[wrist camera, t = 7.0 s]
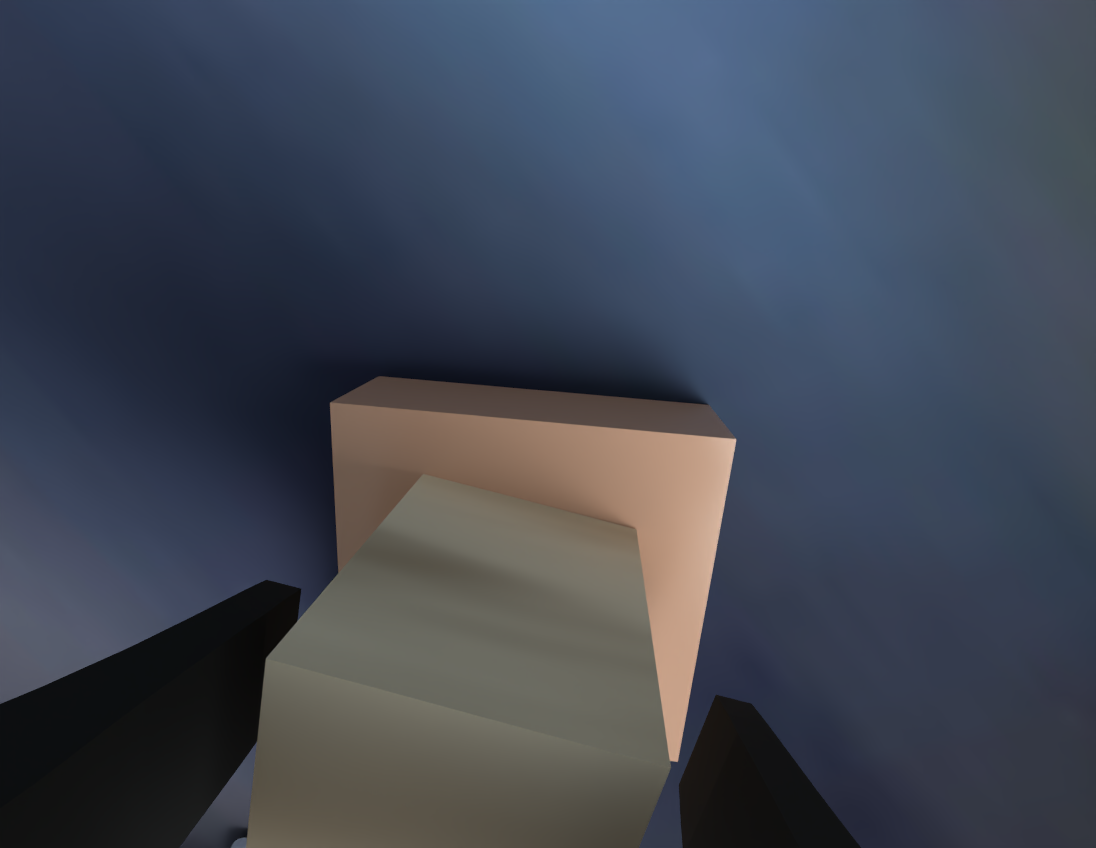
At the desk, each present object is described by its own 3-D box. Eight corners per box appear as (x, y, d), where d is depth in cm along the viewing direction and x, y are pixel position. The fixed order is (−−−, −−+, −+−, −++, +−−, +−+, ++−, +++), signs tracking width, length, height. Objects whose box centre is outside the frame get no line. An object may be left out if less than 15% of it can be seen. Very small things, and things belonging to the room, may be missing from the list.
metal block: (580, 701, 12) (567, 1024, 7) (390, 650, 12) (237, 931, 7) (636, 529, 11) (671, 767, 6) (423, 473, 11) (266, 658, 6)
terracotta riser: (662, 669, 16) (678, 761, 13) (389, 638, 16) (345, 720, 13) (705, 400, 13) (736, 439, 10) (385, 372, 14) (329, 402, 11)
